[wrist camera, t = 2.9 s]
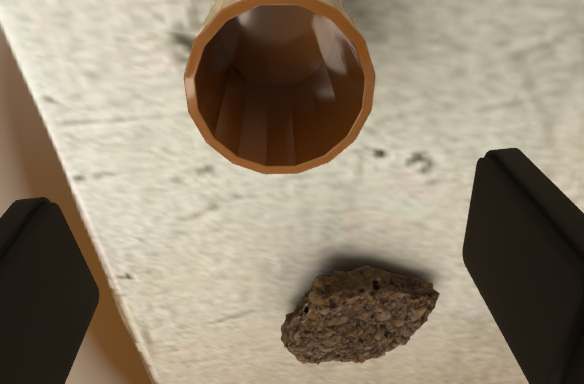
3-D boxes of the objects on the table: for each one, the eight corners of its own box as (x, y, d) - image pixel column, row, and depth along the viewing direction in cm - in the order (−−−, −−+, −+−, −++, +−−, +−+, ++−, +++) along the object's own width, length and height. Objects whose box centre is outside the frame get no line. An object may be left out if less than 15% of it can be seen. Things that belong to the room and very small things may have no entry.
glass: (238, -68, 22) (218, -45, 14) (362, -10, 24) (410, 41, 15) (199, 61, 26) (164, 141, 17) (309, 103, 27) (325, 194, 19)
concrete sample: (265, 314, 38) (265, 366, 34) (323, 232, 33) (330, 281, 29) (376, 348, 41) (388, 400, 37) (444, 278, 36) (466, 328, 32)
